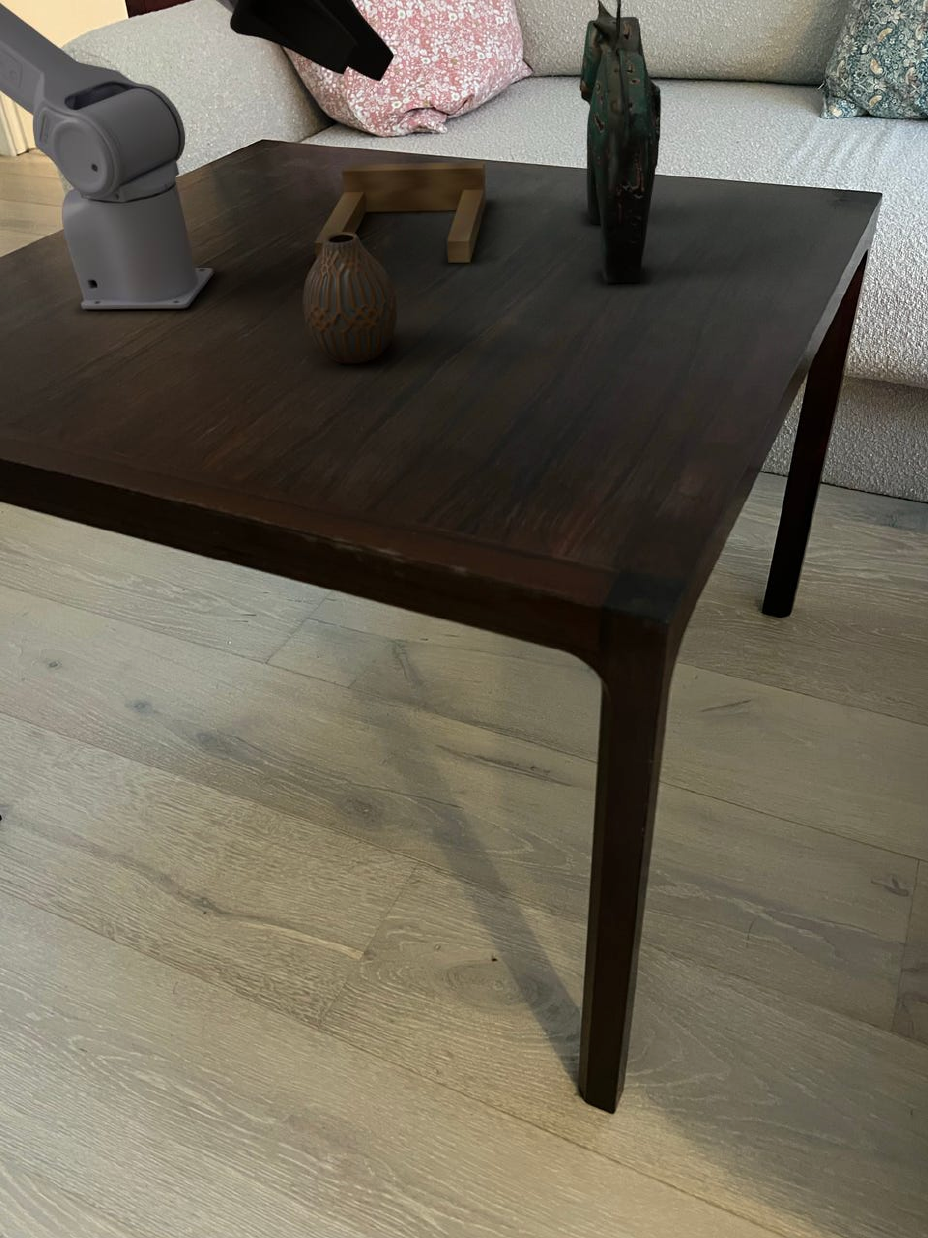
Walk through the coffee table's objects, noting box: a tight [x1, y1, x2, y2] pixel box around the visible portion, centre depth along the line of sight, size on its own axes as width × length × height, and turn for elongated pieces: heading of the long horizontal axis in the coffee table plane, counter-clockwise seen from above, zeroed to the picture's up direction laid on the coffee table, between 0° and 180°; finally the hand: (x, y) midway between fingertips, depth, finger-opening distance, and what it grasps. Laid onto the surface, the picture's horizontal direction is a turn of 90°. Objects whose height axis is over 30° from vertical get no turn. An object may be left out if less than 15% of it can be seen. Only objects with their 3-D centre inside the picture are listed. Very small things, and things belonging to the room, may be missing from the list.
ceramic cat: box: [579, 0, 662, 284], centre depth 86 cm, size 20×6×20 cm, turn 178°
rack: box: [313, 161, 487, 264], centre depth 96 cm, size 14×16×4 cm
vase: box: [302, 232, 398, 365], centre depth 75 cm, size 7×7×9 cm
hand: (368, 64), depth 69 cm, fingers open, 7 cm apart
